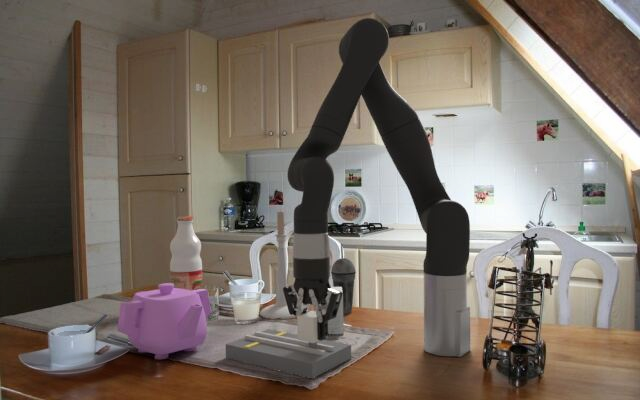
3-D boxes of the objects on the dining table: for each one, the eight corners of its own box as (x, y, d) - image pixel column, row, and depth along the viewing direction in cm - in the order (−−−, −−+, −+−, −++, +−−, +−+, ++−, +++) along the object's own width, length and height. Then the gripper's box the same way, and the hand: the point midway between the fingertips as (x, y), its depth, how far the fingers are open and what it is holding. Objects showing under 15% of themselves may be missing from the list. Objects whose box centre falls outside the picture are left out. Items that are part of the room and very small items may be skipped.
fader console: (351, 358, 112) (351, 341, 112) (312, 379, 100) (312, 359, 100) (268, 341, 125) (268, 325, 125) (225, 358, 113) (225, 340, 113)
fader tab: (327, 346, 110) (327, 313, 109) (313, 353, 105) (313, 318, 105) (312, 343, 112) (311, 310, 112) (297, 349, 108) (297, 315, 108)
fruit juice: (172, 306, 163) (169, 216, 162) (203, 305, 165) (201, 215, 164) (169, 314, 154) (167, 218, 153) (202, 312, 156) (200, 217, 155)
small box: (343, 335, 130) (343, 292, 129) (321, 335, 130) (320, 292, 129) (343, 326, 138) (342, 286, 137) (321, 326, 138) (320, 286, 137)
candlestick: (313, 311, 154) (311, 209, 153) (287, 321, 143) (285, 211, 142) (277, 306, 161) (276, 208, 160) (250, 316, 150) (248, 210, 149)
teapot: (202, 362, 111) (201, 290, 111) (113, 365, 110) (112, 293, 109) (213, 336, 130) (212, 275, 130) (137, 339, 129) (136, 277, 128)
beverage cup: (360, 310, 155) (359, 242, 154) (351, 316, 148) (350, 245, 148) (337, 308, 158) (336, 241, 157) (327, 313, 151) (326, 244, 151)
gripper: (350, 254, 107) (351, 338, 108) (295, 250, 115) (296, 328, 116) (329, 259, 101) (331, 348, 101) (272, 254, 109) (274, 337, 110)
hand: (312, 337), depth 109 cm, fingers closed on fader tab, 4 cm apart
